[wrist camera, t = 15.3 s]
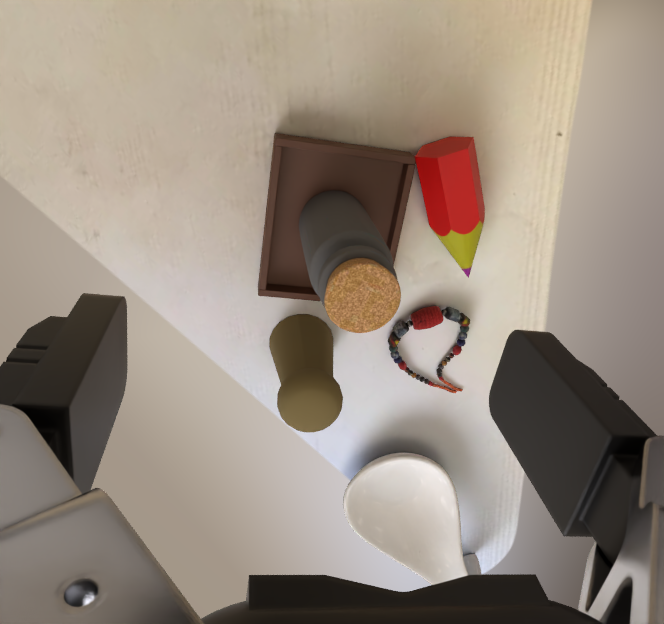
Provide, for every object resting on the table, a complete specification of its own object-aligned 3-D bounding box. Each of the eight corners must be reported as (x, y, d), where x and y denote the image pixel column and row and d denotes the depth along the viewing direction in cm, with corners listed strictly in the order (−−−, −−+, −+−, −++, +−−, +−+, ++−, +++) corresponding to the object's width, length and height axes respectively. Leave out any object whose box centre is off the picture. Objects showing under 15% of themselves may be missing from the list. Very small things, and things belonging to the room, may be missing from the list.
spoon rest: (318, 472, 60) (327, 525, 54) (412, 416, 58) (432, 464, 52) (421, 583, 70) (438, 637, 64) (502, 538, 69) (529, 589, 62)
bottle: (283, 227, 47) (295, 305, 33) (331, 174, 45) (363, 234, 32) (334, 269, 49) (363, 358, 36) (381, 220, 48) (429, 294, 34)
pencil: (435, 276, 51) (450, 296, 48) (408, 150, 45) (422, 163, 42) (485, 259, 51) (503, 279, 48) (464, 131, 45) (483, 142, 42)
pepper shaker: (325, 373, 54) (340, 448, 45) (264, 365, 53) (265, 440, 43) (339, 319, 52) (359, 385, 42) (275, 309, 51) (280, 375, 41)
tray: (274, 132, 44) (275, 137, 42) (410, 152, 46) (417, 157, 44) (258, 285, 50) (258, 295, 48) (380, 297, 52) (384, 307, 50)
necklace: (462, 291, 52) (469, 302, 50) (477, 378, 58) (484, 391, 56) (379, 317, 52) (383, 328, 51) (403, 401, 58) (408, 414, 57)
